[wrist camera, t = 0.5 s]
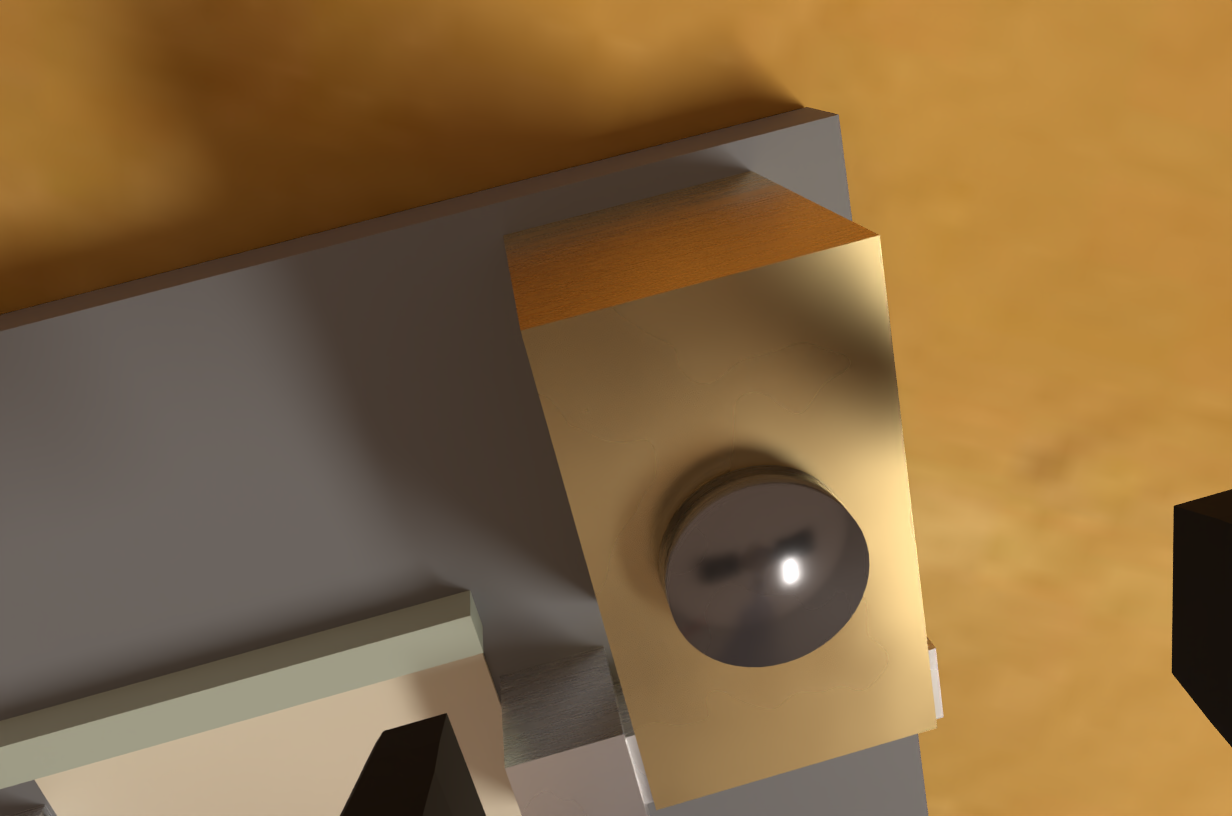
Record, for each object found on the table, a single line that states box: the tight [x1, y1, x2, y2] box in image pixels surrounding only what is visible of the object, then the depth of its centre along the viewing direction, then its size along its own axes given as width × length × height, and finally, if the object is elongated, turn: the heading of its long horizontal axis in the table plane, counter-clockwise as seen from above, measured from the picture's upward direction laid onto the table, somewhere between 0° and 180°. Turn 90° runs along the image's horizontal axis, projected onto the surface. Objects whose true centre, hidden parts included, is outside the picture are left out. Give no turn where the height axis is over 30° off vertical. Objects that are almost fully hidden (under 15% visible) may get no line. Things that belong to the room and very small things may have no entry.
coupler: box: [503, 171, 937, 810], centre depth 14 cm, size 7×4×6 cm, turn 13°
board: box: [0, 107, 928, 816], centre depth 18 cm, size 18×24×2 cm
